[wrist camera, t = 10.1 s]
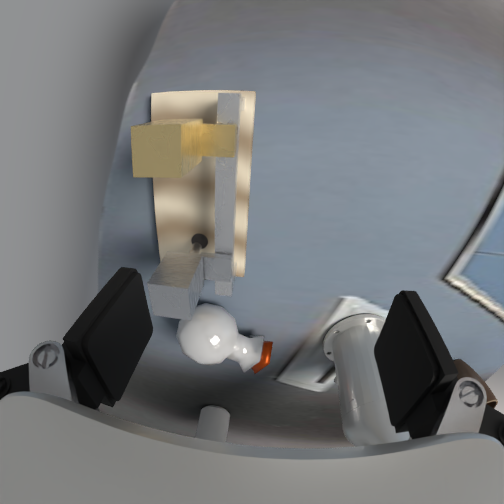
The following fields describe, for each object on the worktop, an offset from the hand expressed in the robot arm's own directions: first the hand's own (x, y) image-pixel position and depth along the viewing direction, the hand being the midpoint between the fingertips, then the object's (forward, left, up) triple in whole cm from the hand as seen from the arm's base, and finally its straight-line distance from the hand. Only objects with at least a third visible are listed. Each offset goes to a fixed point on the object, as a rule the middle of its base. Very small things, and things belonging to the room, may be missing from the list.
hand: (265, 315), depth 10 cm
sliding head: (+3, +7, -23) cm, 24 cm away
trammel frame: (-4, +7, -24) cm, 25 cm away
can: (-60, +8, -26) cm, 66 cm away
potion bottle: (-26, +5, -26) cm, 37 cm away
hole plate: (-4, +9, -26) cm, 27 cm away
